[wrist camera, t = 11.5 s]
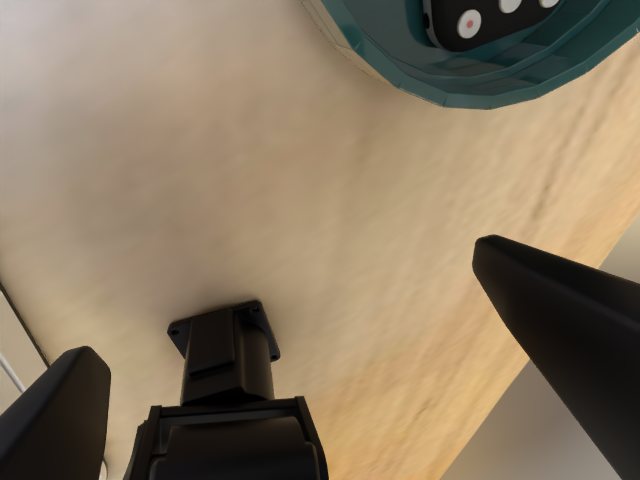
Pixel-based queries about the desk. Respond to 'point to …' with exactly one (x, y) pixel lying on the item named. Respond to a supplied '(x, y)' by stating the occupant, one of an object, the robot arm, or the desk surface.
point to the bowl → (475, 49)
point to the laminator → (19, 359)
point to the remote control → (480, 20)
